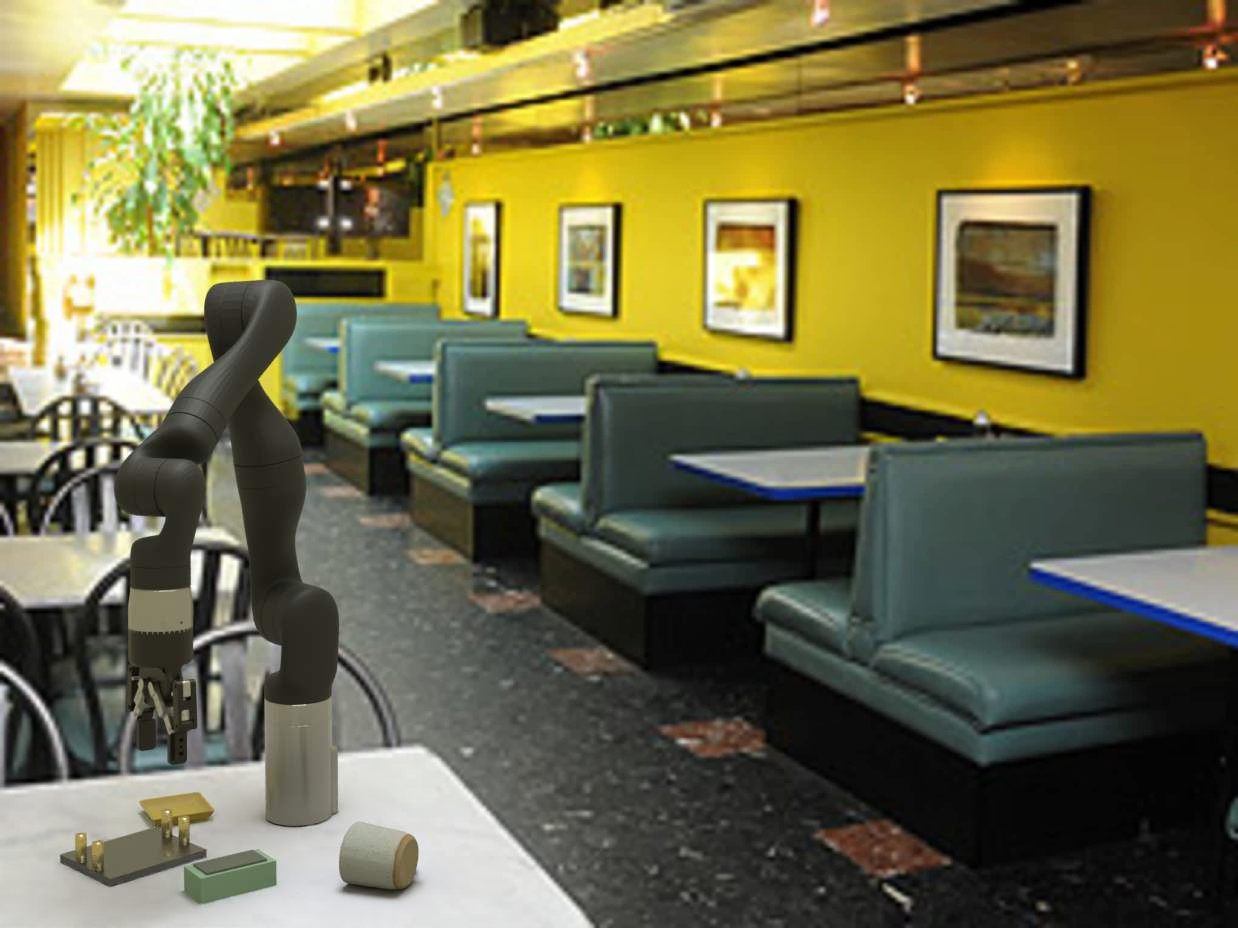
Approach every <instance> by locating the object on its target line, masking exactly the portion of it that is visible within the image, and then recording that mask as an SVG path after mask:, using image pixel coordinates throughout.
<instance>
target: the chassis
mask: <svg viewBox="0 0 1238 928" xmlns="http://www.w3.org/2000/svg"><path fill="white" fill-rule="evenodd" d="M161 821H162V827H161V829H160V828H159V827H157V826H154V827H150V828H148V829H144V830H140V831H137V832H133V833H130V834H126V835H122V836H119V837H116V838H113V839H109V840H105V841H104V840H100V839H98V840H97V839H96V840H93V841H92V842H91V845H88V841H87V839H88V838H87V832H77V833H75V834H74V845H75V846H74V847H75V848H74V850H73V849H72V850H71V851H67V852H63V853H60V854H59V859H60V860H59V861H60V863H62V864H64V865H65V866H68V867H69V868H72V869H74V870H76V871H78V872H80V873H82V874H84V875H86V876H88V877H90V878H93V879H94V880H96V881H98V882H100V883H103V884H105V885H106V886H109V887H114V886H117V885H120V884H121V885H122V884H123V883H127V882H130V881H134V880H136V879H140V878H144V877H147V876H149V875H152V874H156V873H159V872H162V871H165V870H169V869H171V868H174V867H178V866H181V865H184V864H188V863H191V862H194V861H198V860H201V859H203V858H207V850H208V849H206V848H205V847H202V846H199V845H197V844H195V843H193V842H191V840H190V839H191V835H190V834H191V831H190V824H191V823H189V816H180V817H179V818H178V823H179V825H178V836H177V835H174V833H173V826H174V825H173V826H172V809H163V810H161ZM87 845H88V846H87Z"/></svg>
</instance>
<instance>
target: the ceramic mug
mask: <svg viewBox="0 0 1238 928" xmlns="http://www.w3.org/2000/svg"><path fill="white" fill-rule="evenodd" d="M419 851H420V850H419V844H418V841H417V839H416V837H415V836H414V835H412V834H411V833H409V832H406V831H403V830H400V829H393V828H391V827H386V826H382V825H378V824H377V825H376V824H373V823H372V824H371V823H369V822H368V823H367V822H363V821H355V822H353V823H352V824H351V825H350V826H349V828H348V829H347V831H346V833H345V834H344V836H343V839H342V842H341V845H340V850H339V854H338V855H339V856H338V871H339V877H340V879H341V880H342V881H343V883H345V884H349V885H350V884H351V885H357V886H363V887H368V888H377V889H381V890H382V889H384V890H392V891H395V890H404V888H406V887H407V886H408V885H410V883H411V882H412V881H413V879H414V876H415V874H416V871H417V868H418V862H419Z"/></svg>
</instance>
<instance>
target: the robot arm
mask: <svg viewBox="0 0 1238 928" xmlns="http://www.w3.org/2000/svg"><path fill="white" fill-rule="evenodd" d="M204 297H205V299H204V304H203V305H204V306H203V319H204V326H205V332H206V336H207V341H208V345H209V349H210V352H211V357H212V360H213V361H212V362H213V363H211V364H210V365H208V366H207V367H206V368H204V370H202V371H201V372H199V373H198V374H197V375H195V376H194V377H193V378H192V379H190V381H188V383H187V384H186V385H185V386H184V387H183V388H182V389H181V391H179V393H178V394H177V396H176V397H175V399H174V401H173V403H172V404H171V406H170V408H169V410H168V412H167V413H166V415H165V417H164V418H163V420H162V422H161V424H160V426H159V427H157V428H156V430H154V431H153V432H152V433H150V434H149V435H148V436H147V437H146V438H145V439H144V440H143V441H142V442H141V443H140V444H138V446H137V447H135V449H134V450H132V451H131V452H130V454H129V455H127V456H126V458H125V459H124V461H122V463H121V464H120V466H119V468H118V470H117V473H116V475H115V478H114V479H115V480H114V483H113V484H114V485H113V493H114V494H113V495H114V498H115V501H116V503H117V505H118V507H119V508H120V509H121V510H122V511H124V512H125V513H127V514H129V515H131V516H136V517H139V516H140V517H154V518H155V517H156V518H157V517H158V518H165V519H164V523H163V526H162V528H161V531H160V532H159V533H158V534H156V535H155V534H154V535H148V536H144V537H140V538H138V539H136V540H134V542H133V543H132V544H131V548H130V554H129V556H130V557H129V558H130V559H129V562H130V563H129V566H130V570H129V571H130V577H129V578H130V579H129V580H130V588H129V590H130V591H129V599H128V605H127V607H128V610H127V616H128V617H127V619H128V622H127V623H128V624H127V625H128V626H127V627H128V629H127V631H128V642H127V643H128V653H127V654H128V662H129V663H130V664H128V665H127V678H126V679H127V681H126V684H127V685H126V687H127V688H126V710H127V712H128V713H131V712H132V716H133V719H134V720H136V722H135V723H136V729H135V730H136V749H137V750H138V751H140V752H146V751H153V750H154V749H155V748H156V747H157V719H156V718H155V717H156V715H158V717H159V718H160V719H163V721H164V724H165V728H166V731H167V734H166V735H167V736H166V744H167V745H166V749H167V750H166V751H167V753H166V754H167V756H166V758H167V763H168V764H170V765H172V766H177V765H181V764H182V765H183V764H186V763H187V761H188V732H189V733H190V731H191V730H197V729H198V702H197V701H198V699H197V698H198V697H197V681H196V679H195V678H190V679H184V675H183V671H182V668H183V667H184V666H185V665H188V664H190V663H191V662H192V661H193V659H194V603H193V595H192V560H191V559H192V550H193V546H194V541H195V537H196V534H197V528H198V525H199V520H200V517H201V515H202V511H203V507H204V504H205V499H206V495H207V484H206V478H205V475H204V473H203V471H202V469H201V468H200V467H199V465H202V464H203V463H205V462H206V461H207V460H208V459H209V458H210V457H211V455H212V454H213V452H214V450H215V448H216V447H217V445H218V443H219V441H220V439H221V437H222V436H223V433H224V432H225V430H226V427H228V433H229V441H230V447H231V455H232V463H233V468H234V475H235V481H236V486H237V492H238V496H239V500H240V505H241V507H240V508H241V513H242V520H243V527H244V533H245V540H246V541H245V542H246V545H247V552H248V554H247V555H248V562H249V566H248V568H249V583H250V602H251V603H250V605H251V612H252V613H251V614H252V618H253V620H252V621H253V623H254V626H255V628H256V631H257V632H258V633H259V635H260V636H261V638H263V639H264V640H266V641H268V642H269V643H272V644H274V645H276V646H280V648H281V649H280V667H279V670H278V671H274V672H272V673H270V674H269V675H268V676H266V678H265V680H264V685H263V690H264V691H263V693H264V695H263V696H264V763H265V764H264V770H265V772H264V778H265V781H264V783H265V789H264V791H265V797H264V799H265V818H266V820H267V821H268V822H271V823H274V824H276V825H280V826H281V825H282V826H290V827H291V826H293V827H297V826H300V827H301V826H309V825H314V824H318V823H321V822H325V821H326V820H328V819H329V818H331V817H332V815H333V814H335V813H339V766H338V765H339V750H338V747H337V746H336V745H333V719H332V718H333V716H332V715H333V712H332V709H333V705H332V700H333V699H332V697H333V696H332V691H333V690H332V689H333V683H334V681H335V679H336V676H337V672H338V666H339V665H338V664H339V644H340V643H339V642H340V641H339V639H340V613H339V609H338V605H337V602H336V600H335V598H334V597H333V595H332V594H331V593H330V592H329V591H327V590H325V588H322V587H319V586H317V585H313V584H309V583H305V582H303V580H302V577H301V576H302V575H301V573H300V572H301V571H300V568H299V562H298V556H297V551H296V550H297V548H296V535H297V529H298V525H299V522H300V519H301V515H302V512H303V508H304V506H305V501H306V495H307V477H306V470H305V464H304V458H303V457H304V456H303V451H302V446H301V442H300V439H299V437H298V434H297V433H296V431H295V430H294V428H293V426H292V425H291V424H290V423H289V421H288V419H287V418H286V417H285V416H284V414H283V413H282V412H281V411H280V409H279V408H278V407H277V406H276V404H275V403H274V402H273V401H272V399H271V397H269V395H268V394H267V393H266V391H265V389H264V388H263V386H262V384H261V382H260V380H259V379H260V378H261V377H262V376H263V375H264V373H265V372H266V371H267V370H268V368H269V367H270V366H271V365H272V363H273V361H275V360H276V358H277V357H278V356H279V355H280V354H281V352H282V351H283V350H284V349H285V347H286V346H287V344H288V343H289V342H290V340H291V338H292V336H293V334H294V332H295V329H296V326H297V320H298V310H297V303H296V299H295V297H294V294H293V293H292V291H291V289H290V288H289V287H288V286H287V284H285V283H284V282H282V281H279V280H275V279H256V280H240V281H226V282H225V281H223V282H219V283H215V284H213V285H212V286H211V287H210V288H209V289H208V291H207V293H206V295H205V296H204ZM187 712H188V713H187Z"/></svg>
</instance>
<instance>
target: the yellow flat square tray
mask: <svg viewBox="0 0 1238 928" xmlns="http://www.w3.org/2000/svg"><path fill="white" fill-rule="evenodd" d="M138 803H139V805H140V806H141V808H143V810H144V811H145V813H146V814H147V815H148V817H149V818H150V819H151V821H152V822H153V824H154V825H155V827H156V828H162V821H161V810H163V809H172V826H179V823H178V818H179V817H180V816H189V823H190V824H191V823H197V822H198V823H199V822H204V821H207V820H208V819H209V818H210V817H211V816H212V815H213V813H214V812H215V808H214V807H213V806H212V805H211V804H210V802H209V801H208V800H207V799H206V798H205V796H203V794H202V793H201V792H200V791H198V792H197V791H195V792H188V793H187V792H186V793H180V794H173V795H166V796H158V797H153V798H145V799H141V800H139V801H138Z"/></svg>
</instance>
